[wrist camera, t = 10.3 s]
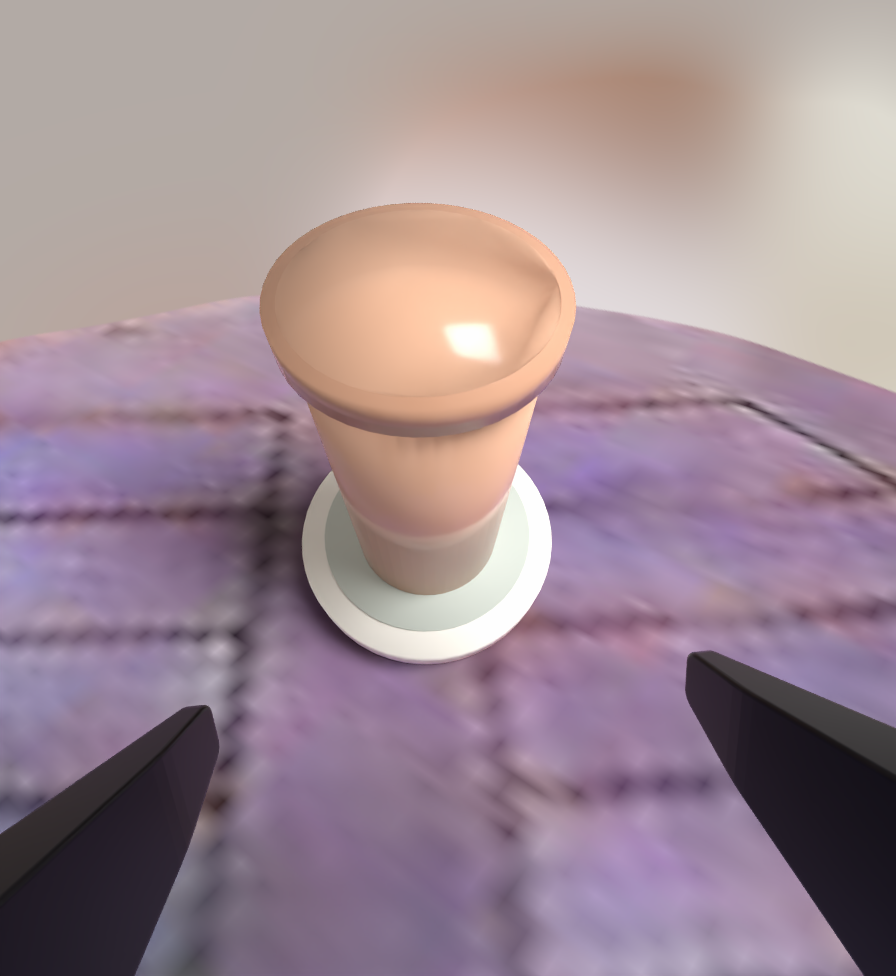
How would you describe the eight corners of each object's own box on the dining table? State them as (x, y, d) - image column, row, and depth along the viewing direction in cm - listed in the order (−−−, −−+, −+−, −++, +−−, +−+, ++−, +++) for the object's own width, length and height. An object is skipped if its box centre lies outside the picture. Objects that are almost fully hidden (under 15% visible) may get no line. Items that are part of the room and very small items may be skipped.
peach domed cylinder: (439, 636, 18) (444, 476, 7) (320, 538, 20) (191, 301, 9) (531, 518, 20) (631, 277, 10) (419, 442, 22) (404, 174, 12)
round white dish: (370, 718, 18) (364, 715, 16) (277, 500, 22) (266, 483, 21) (592, 585, 21) (604, 573, 19) (468, 417, 25) (470, 397, 24)
